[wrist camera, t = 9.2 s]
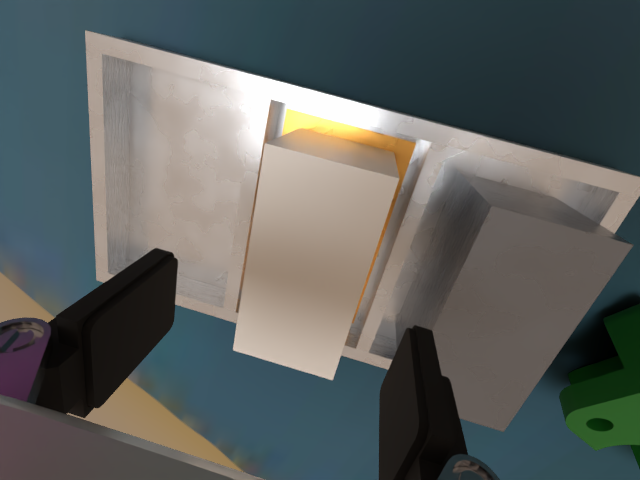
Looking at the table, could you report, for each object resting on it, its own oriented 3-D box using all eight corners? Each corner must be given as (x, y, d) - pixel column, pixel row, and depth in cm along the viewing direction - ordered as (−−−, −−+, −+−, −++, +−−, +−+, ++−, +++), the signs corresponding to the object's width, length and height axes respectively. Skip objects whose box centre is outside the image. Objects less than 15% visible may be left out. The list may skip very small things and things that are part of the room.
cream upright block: (300, 127, 18) (264, 143, 13) (394, 152, 18) (399, 178, 12) (269, 286, 22) (232, 350, 17) (345, 308, 22) (332, 380, 16)
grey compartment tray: (614, 168, 17) (737, 208, 11) (489, 374, 23) (526, 472, 17) (121, 37, 18) (-2, 12, 12) (123, 263, 24) (40, 319, 18)
